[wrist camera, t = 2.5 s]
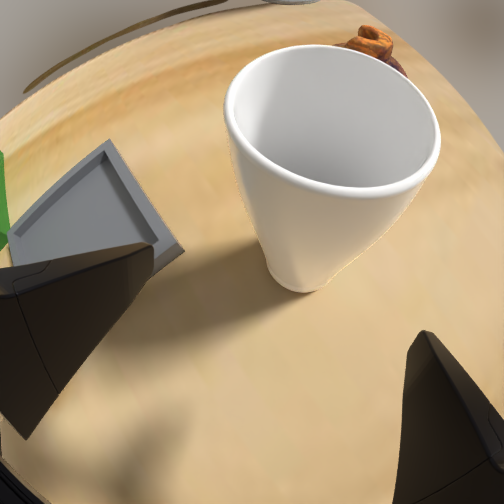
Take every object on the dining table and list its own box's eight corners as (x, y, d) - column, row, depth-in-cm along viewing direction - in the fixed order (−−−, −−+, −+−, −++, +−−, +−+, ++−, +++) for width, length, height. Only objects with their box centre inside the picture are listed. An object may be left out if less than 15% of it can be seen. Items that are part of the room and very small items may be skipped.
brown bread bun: (376, 136, 25) (396, 80, 18) (287, 77, 28) (286, 23, 22) (425, 95, 27) (444, 50, 20) (347, 47, 30) (354, 3, 23)
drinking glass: (278, 319, 20) (282, 245, 6) (242, 236, 22) (192, 70, 8) (362, 280, 21) (482, 159, 6) (321, 203, 23) (360, 33, 9)
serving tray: (56, 354, 20) (42, 353, 19) (18, 239, 25) (6, 232, 23) (184, 251, 22) (176, 241, 21) (117, 150, 27) (109, 138, 25)
